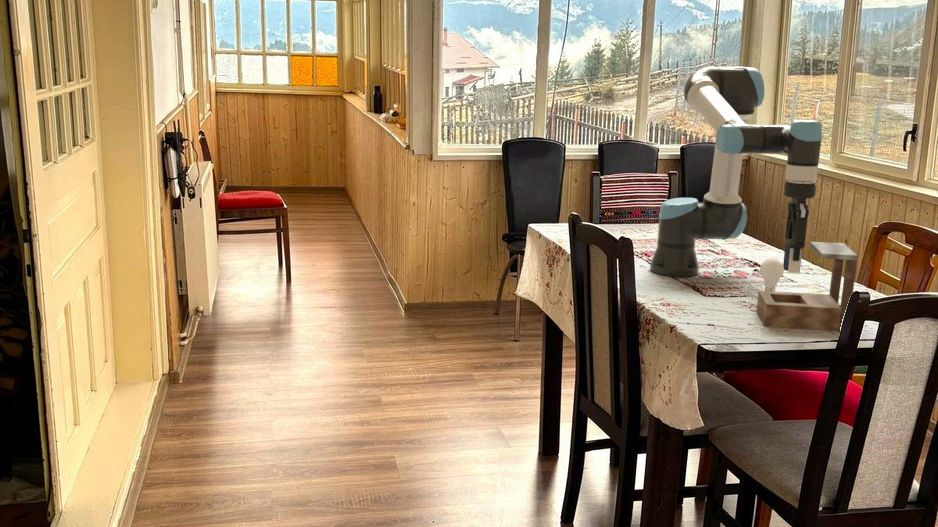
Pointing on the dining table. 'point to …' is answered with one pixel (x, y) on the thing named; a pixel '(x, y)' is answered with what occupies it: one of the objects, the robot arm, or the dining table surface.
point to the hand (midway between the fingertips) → (791, 269)
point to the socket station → (812, 296)
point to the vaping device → (787, 254)
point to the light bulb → (771, 273)
